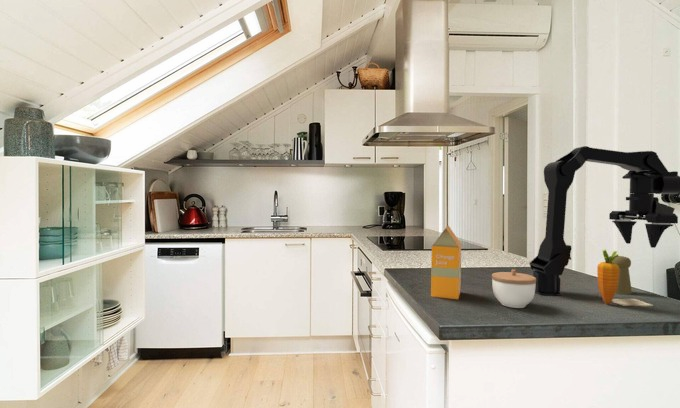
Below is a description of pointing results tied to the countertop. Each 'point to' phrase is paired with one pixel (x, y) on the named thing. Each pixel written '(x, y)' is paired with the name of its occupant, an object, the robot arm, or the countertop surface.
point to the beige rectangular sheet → (630, 302)
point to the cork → (623, 275)
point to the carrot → (608, 277)
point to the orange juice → (446, 266)
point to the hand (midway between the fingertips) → (640, 245)
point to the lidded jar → (513, 288)
